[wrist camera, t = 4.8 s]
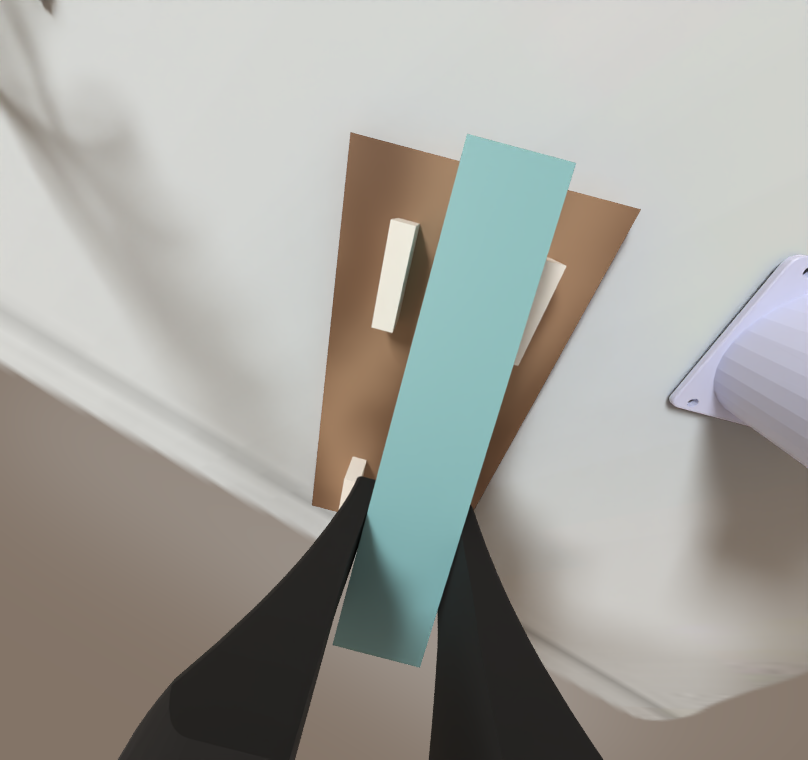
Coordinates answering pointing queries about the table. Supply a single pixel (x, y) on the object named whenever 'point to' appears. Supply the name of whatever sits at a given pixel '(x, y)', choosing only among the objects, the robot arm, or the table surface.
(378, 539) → the slat
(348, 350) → the walnut board
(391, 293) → the end caps
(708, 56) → the table surface
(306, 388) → the table surface
